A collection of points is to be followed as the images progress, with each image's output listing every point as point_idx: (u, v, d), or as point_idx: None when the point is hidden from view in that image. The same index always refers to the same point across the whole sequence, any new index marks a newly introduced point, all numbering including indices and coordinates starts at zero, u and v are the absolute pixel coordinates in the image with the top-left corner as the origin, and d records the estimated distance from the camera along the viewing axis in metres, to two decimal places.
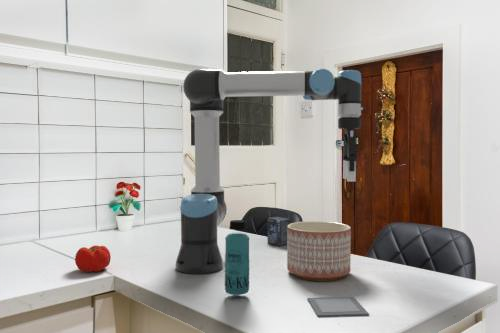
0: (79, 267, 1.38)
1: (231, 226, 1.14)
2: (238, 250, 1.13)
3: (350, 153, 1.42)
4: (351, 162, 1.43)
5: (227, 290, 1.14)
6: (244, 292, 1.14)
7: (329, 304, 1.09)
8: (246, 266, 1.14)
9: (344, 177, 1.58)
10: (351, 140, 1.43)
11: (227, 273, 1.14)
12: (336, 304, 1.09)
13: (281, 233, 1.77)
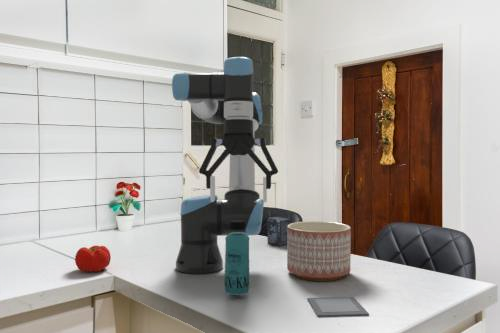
0: (79, 267, 1.38)
1: (231, 226, 1.14)
2: (238, 250, 1.13)
3: None
4: None
5: (227, 290, 1.14)
6: (244, 292, 1.14)
7: (329, 304, 1.09)
8: (246, 266, 1.14)
9: None
10: None
11: (227, 273, 1.14)
12: (336, 304, 1.09)
13: (281, 233, 1.77)
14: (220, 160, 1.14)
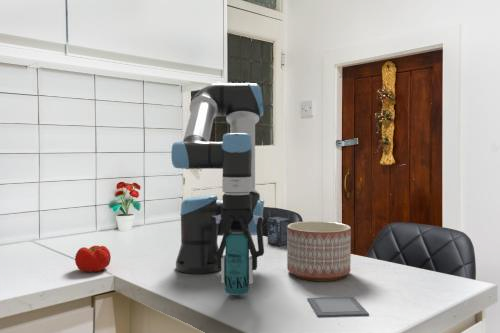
0: (79, 267, 1.38)
1: (231, 226, 1.14)
2: (238, 250, 1.13)
3: None
4: None
5: (227, 290, 1.14)
6: (244, 292, 1.14)
7: (329, 304, 1.09)
8: (246, 266, 1.14)
9: None
10: None
11: (227, 273, 1.14)
12: (336, 304, 1.09)
13: (281, 233, 1.77)
14: (225, 238, 1.15)
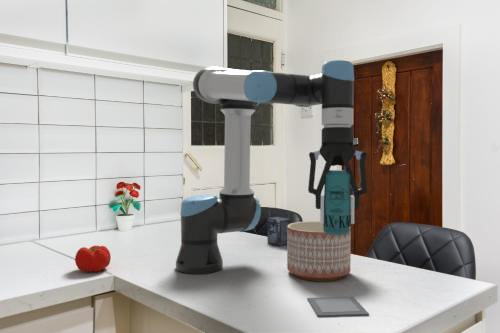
0: (79, 267, 1.38)
1: None
2: (341, 186, 1.04)
3: None
4: None
5: (328, 230, 1.06)
6: (346, 232, 1.05)
7: (329, 304, 1.09)
8: (348, 204, 1.06)
9: None
10: (310, 166, 1.08)
11: (328, 212, 1.06)
12: (336, 304, 1.09)
13: (281, 233, 1.77)
14: (325, 175, 1.06)
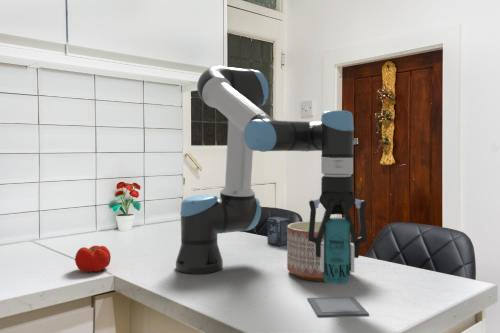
0: (79, 267, 1.38)
1: (332, 210, 1.06)
2: (341, 236, 1.05)
3: None
4: None
5: (328, 279, 1.06)
6: (346, 281, 1.06)
7: (329, 304, 1.09)
8: (348, 253, 1.06)
9: None
10: (310, 214, 1.08)
11: (328, 261, 1.06)
12: (336, 304, 1.09)
13: (281, 233, 1.77)
14: (325, 223, 1.07)
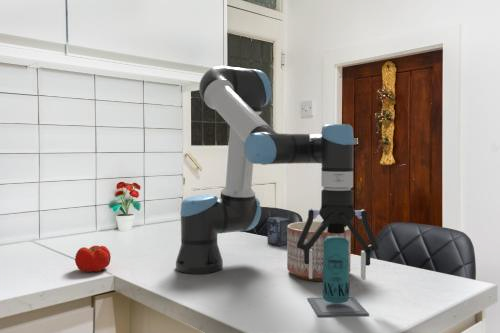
0: (79, 267, 1.38)
1: (330, 229, 1.06)
2: (340, 255, 1.05)
3: None
4: (304, 251, 1.09)
5: (327, 298, 1.06)
6: (346, 300, 1.06)
7: (329, 304, 1.09)
8: (347, 272, 1.06)
9: (361, 275, 1.09)
10: (306, 222, 1.09)
11: (327, 280, 1.06)
12: (336, 304, 1.09)
13: (281, 233, 1.77)
14: (319, 234, 1.07)
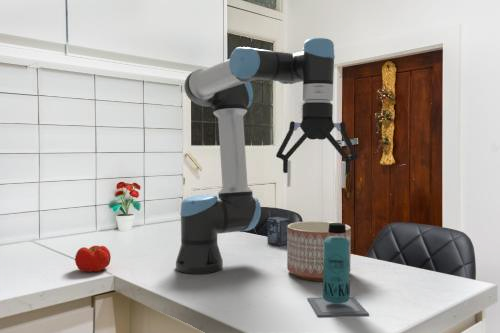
0: (79, 267, 1.38)
1: (331, 229, 1.06)
2: (340, 255, 1.05)
3: None
4: (283, 161, 1.14)
5: (327, 298, 1.06)
6: (346, 300, 1.06)
7: (329, 304, 1.09)
8: (348, 272, 1.06)
9: (341, 185, 1.14)
10: None
11: (327, 280, 1.06)
12: (336, 304, 1.09)
13: (281, 233, 1.77)
14: (298, 144, 1.12)
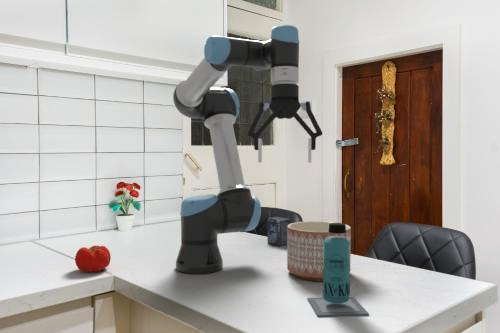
0: (79, 267, 1.38)
1: (331, 229, 1.06)
2: (340, 255, 1.05)
3: None
4: None
5: (327, 298, 1.06)
6: (346, 300, 1.06)
7: (329, 304, 1.09)
8: (348, 272, 1.06)
9: None
10: None
11: (327, 280, 1.06)
12: (336, 304, 1.09)
13: (281, 233, 1.77)
14: (267, 123, 1.21)
